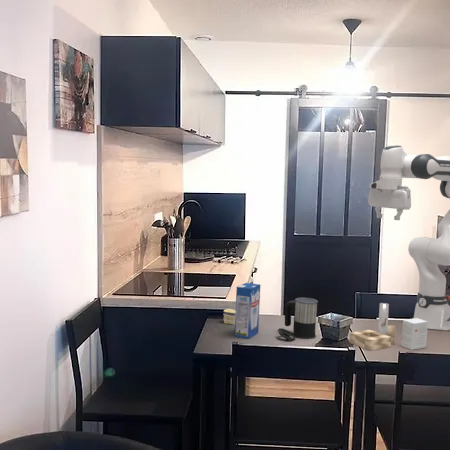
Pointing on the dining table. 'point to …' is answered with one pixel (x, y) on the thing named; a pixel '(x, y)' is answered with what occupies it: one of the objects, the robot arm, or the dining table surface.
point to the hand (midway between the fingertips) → (388, 219)
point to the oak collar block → (370, 340)
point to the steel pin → (383, 318)
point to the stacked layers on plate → (229, 316)
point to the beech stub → (391, 333)
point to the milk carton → (247, 310)
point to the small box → (414, 333)
